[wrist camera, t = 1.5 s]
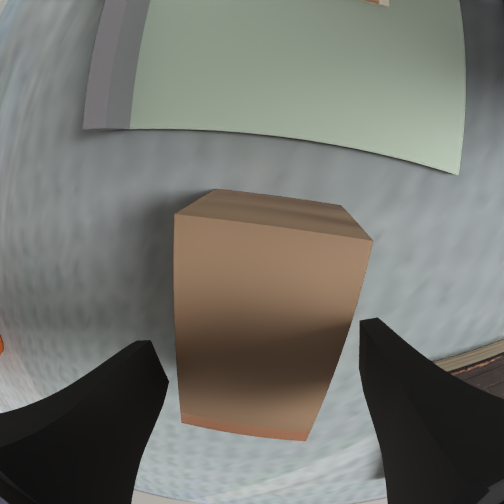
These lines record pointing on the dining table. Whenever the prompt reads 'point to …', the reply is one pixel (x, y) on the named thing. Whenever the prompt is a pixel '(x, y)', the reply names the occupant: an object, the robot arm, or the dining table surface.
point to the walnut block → (262, 309)
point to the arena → (287, 72)
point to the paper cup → (1, 345)
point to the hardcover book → (479, 368)
